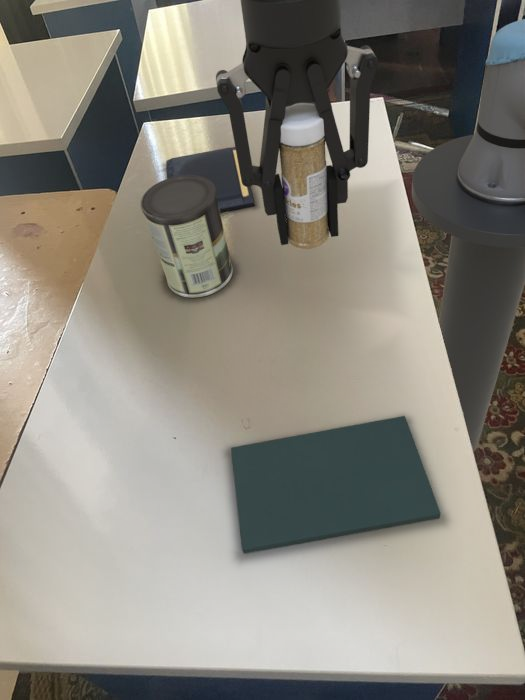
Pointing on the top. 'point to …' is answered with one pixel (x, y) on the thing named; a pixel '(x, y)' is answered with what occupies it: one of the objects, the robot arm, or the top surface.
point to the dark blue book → (216, 175)
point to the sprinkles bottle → (304, 176)
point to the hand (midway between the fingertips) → (307, 232)
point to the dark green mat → (330, 484)
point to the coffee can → (188, 234)
